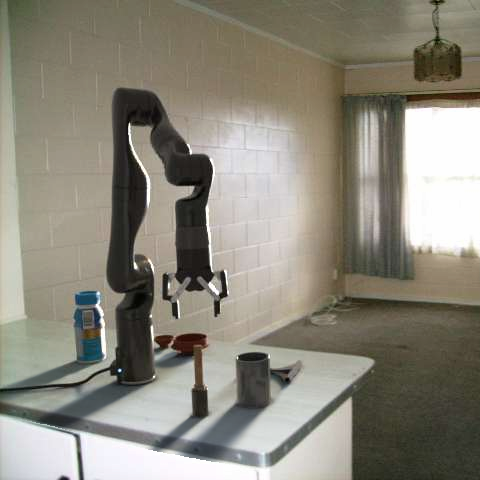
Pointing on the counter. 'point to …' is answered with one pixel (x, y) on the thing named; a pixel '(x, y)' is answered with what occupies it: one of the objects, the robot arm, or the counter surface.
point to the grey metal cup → (253, 379)
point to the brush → (199, 386)
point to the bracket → (287, 371)
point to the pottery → (183, 342)
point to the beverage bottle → (89, 328)
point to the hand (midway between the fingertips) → (196, 317)
